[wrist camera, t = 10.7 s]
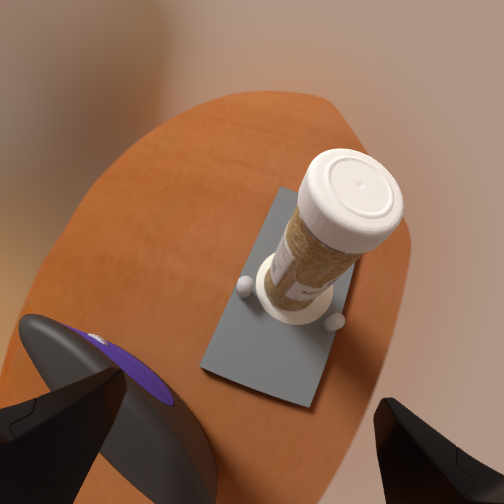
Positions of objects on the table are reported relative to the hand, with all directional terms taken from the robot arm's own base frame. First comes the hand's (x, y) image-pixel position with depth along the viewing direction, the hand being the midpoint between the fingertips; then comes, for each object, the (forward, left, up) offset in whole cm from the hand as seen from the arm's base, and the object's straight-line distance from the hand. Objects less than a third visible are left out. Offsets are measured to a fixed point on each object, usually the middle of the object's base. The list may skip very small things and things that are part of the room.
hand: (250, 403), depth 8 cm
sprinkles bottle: (+8, -5, -12) cm, 15 cm away
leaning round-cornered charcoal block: (-2, +8, -13) cm, 16 cm away
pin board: (+8, -5, -13) cm, 16 cm away
